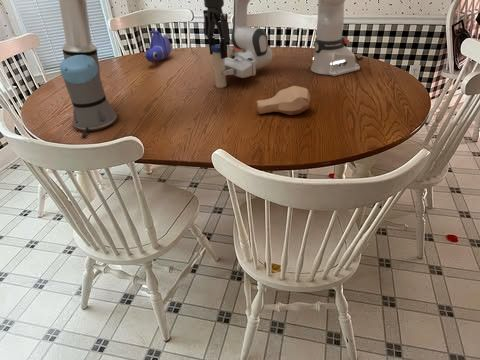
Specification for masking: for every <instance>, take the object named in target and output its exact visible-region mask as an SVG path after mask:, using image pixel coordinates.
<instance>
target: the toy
mask: <svg viewBox="0 0 480 360" xmlns="http://www.w3.org/2000/svg"><path fill="white" fill-rule="evenodd" d="M149 33H151V34H152V36H151V38H150V43H149V44H150V45H149V48H148V49H145V52H144V58H145V59H146V60H147V61H148V62H150V63H151V65H152V67H155V62H160V61H162V60H166V59H167V58H168V57H169V55H170V54H171V52H172V46H171V42H170V39H169V38H168V37H167V35H165V34H162V33H161V32H160V31H159V30H150V31H149Z"/></svg>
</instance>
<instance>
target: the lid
mask: <svg viewBox="0 0 480 360" xmlns="http://www.w3.org/2000/svg"><path fill="white" fill-rule="evenodd" d="M211 51H212V52H216V53H217V52H221V51H220V43H219V44H218V43H217V44H216V45H213V46H211Z"/></svg>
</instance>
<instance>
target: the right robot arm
mask: <svg viewBox="0 0 480 360" xmlns="http://www.w3.org/2000/svg"><path fill="white" fill-rule="evenodd" d="M250 2H251V0H233V20H232V23H233V24H232V30H231V35H230V41H231V43H232V46H233V45H234V47H235V48H237V49H246V52H244V53H241V54H238V55H236V56H234V58H231V57H228V58H225V70H224V71H222V75H224V76H225V75H226V76H235V77H238V78H241V79H246V78H248V77H253V76H256V74H257V71H258V70H259V69H262V68H264V67H266V66H268V65H269V64H270V63H271V62H272V60H273V56H274V55H273V50H272V49H271V47H270V46H269V41H268V39H269V38H268V35H267V32H266V30H264V29H263V28H260V27H252V26H251V27H250V26H248V23H247V19H248V6H249V3H250ZM345 2H346V0H318V1H317V21H316V22H317V23H316V35H315V36H316V37H315V39H314V54H313V57H312V63H311V66H310V71H311V72H312V73H315V74H319V75H327V76H331V77H336V76H340V75H344V74H348V73H352V72H356V71H360V70H361V65H359V64H358V63H357V62H356V61H357V60H359V61H360V60H363V58H364V57H363V56H361V57H358V56H357V55H356V54H354V52H352V51H351V49H349V48H348V47H347V46H345V45H349V44H350V42H351V41H350V39H348V38H344V37H343V29H344V22H345ZM212 71H213V72H214V67H213V68H212Z"/></svg>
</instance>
